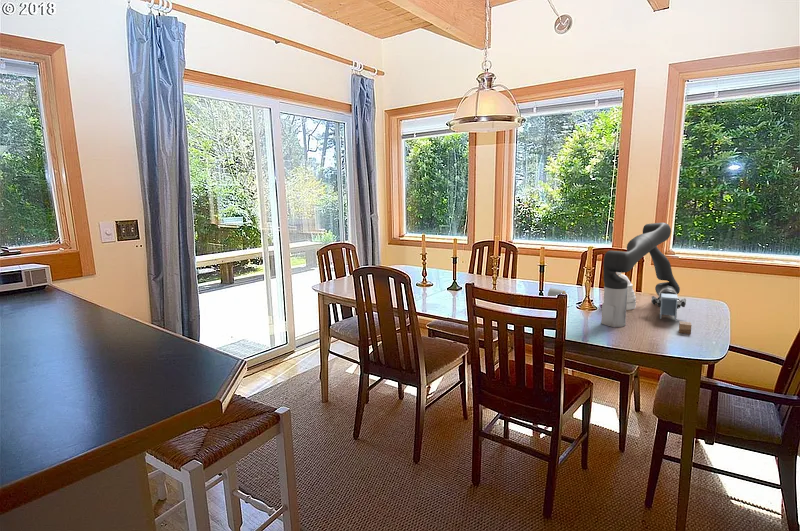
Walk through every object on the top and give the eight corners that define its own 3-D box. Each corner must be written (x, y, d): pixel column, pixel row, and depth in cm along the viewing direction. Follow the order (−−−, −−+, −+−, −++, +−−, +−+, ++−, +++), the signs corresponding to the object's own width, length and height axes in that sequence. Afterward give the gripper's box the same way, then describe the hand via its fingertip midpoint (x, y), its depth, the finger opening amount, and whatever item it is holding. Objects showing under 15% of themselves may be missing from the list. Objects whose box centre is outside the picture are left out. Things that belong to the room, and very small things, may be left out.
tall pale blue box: (676, 320, 189) (677, 298, 188) (659, 318, 193) (661, 297, 191) (675, 315, 195) (677, 294, 194) (659, 314, 198) (661, 293, 197)
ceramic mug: (562, 305, 226) (563, 290, 224) (547, 303, 230) (547, 289, 229) (567, 300, 234) (568, 287, 233) (552, 299, 239) (553, 285, 238)
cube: (690, 334, 176) (691, 325, 175) (679, 333, 178) (679, 323, 177) (690, 331, 179) (690, 322, 178) (678, 330, 181) (679, 321, 180)
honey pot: (603, 306, 219) (604, 272, 216) (613, 301, 228) (615, 268, 224) (629, 311, 210) (631, 275, 206) (639, 305, 218) (641, 271, 215)
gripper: (651, 287, 208) (650, 296, 194) (686, 290, 201) (688, 299, 186) (650, 302, 209) (649, 312, 195) (685, 305, 202) (687, 315, 188)
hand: (668, 305), depth 191 cm, fingers closed on tall pale blue box, 6 cm apart
